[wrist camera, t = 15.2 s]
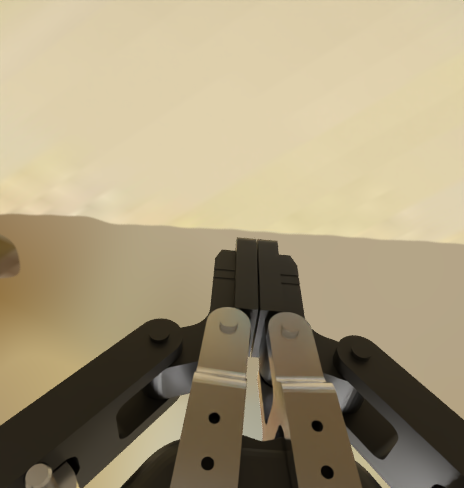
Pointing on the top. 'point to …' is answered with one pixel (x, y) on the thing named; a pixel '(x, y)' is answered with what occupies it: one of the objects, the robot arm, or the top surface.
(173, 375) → the robot arm
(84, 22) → the top surface
